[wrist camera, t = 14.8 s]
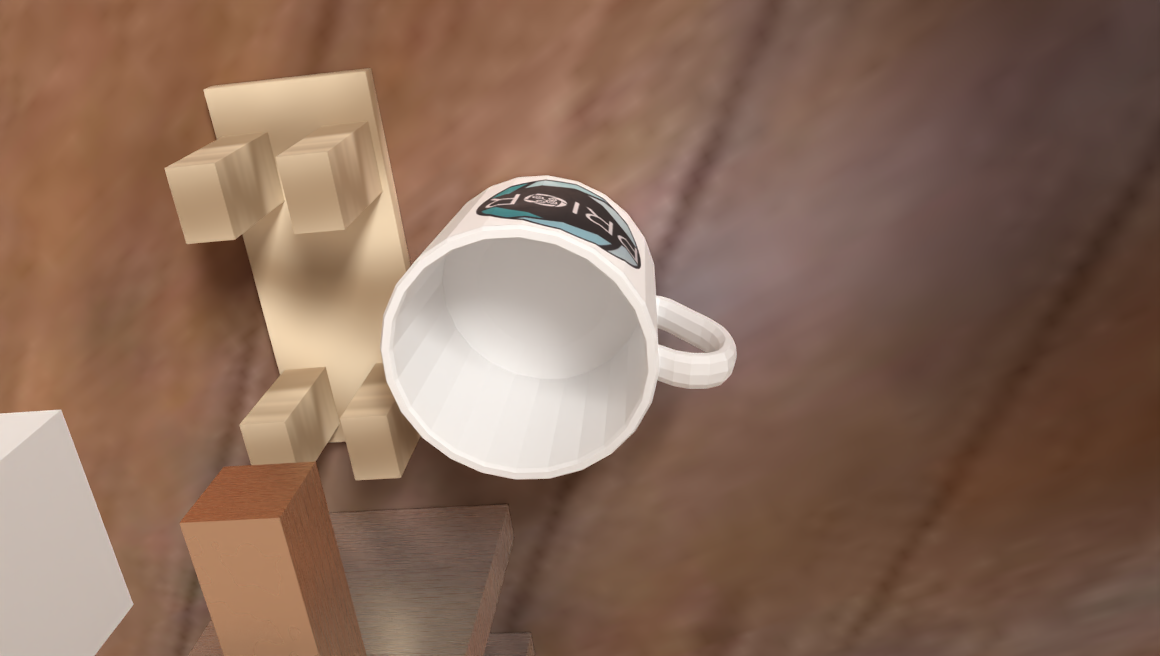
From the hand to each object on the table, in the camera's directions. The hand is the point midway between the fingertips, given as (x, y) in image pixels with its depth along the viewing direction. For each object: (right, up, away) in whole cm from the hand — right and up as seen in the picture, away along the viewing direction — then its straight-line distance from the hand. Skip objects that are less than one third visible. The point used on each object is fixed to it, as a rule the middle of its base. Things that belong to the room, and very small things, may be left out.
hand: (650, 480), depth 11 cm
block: (-11, -15, +29) cm, 35 cm away
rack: (-12, +4, +34) cm, 36 cm away
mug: (-1, +4, +34) cm, 34 cm away
